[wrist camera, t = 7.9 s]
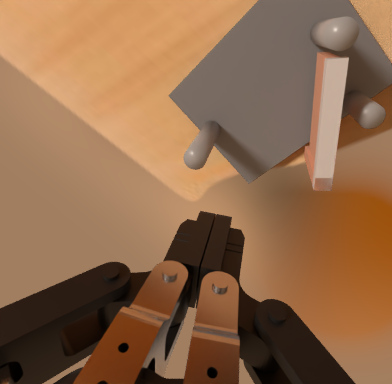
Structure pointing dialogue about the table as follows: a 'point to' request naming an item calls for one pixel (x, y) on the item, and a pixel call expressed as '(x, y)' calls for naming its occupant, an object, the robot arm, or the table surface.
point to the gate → (326, 119)
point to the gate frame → (278, 82)
